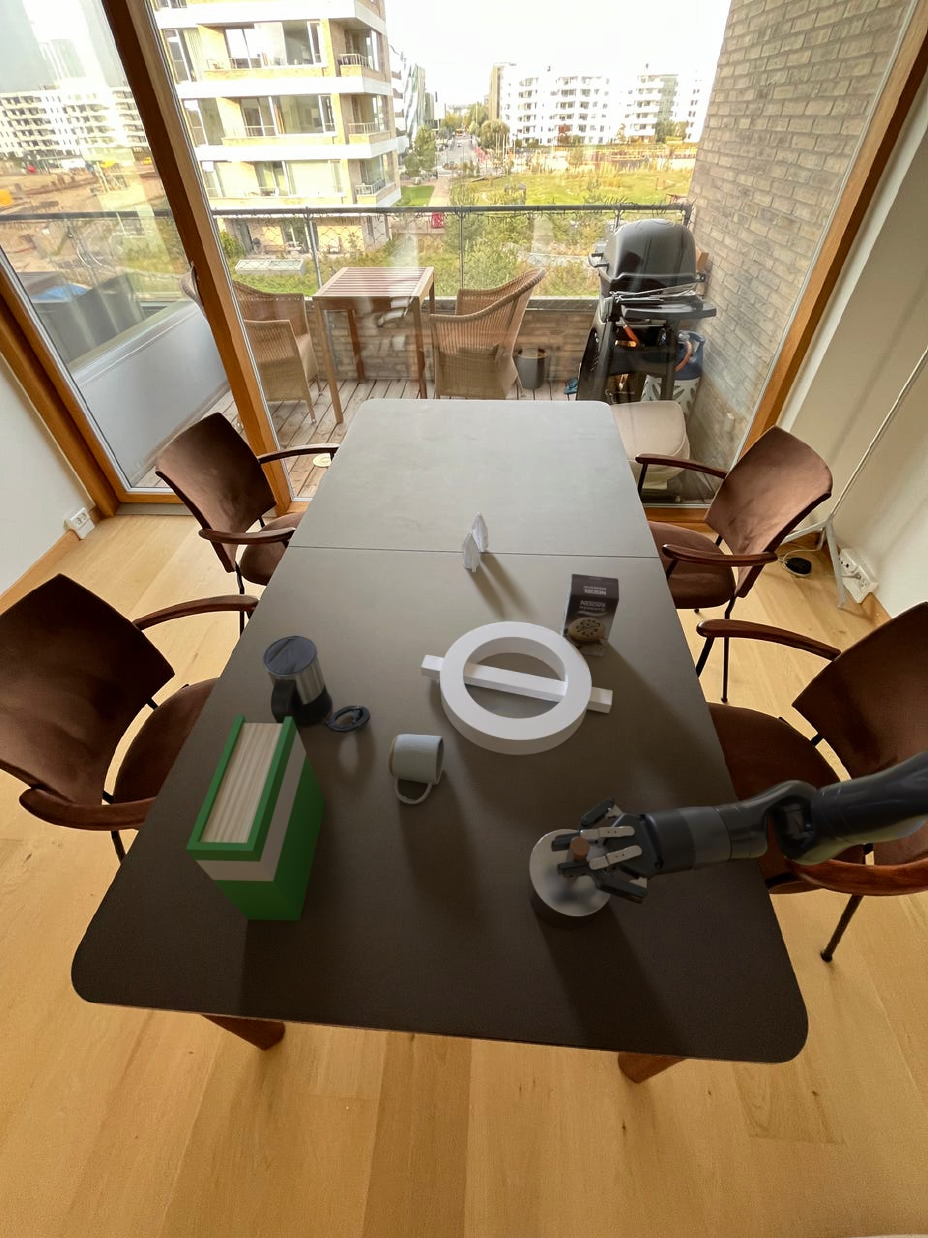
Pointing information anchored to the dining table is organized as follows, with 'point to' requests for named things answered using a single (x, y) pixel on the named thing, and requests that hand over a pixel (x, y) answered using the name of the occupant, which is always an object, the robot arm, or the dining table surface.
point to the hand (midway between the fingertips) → (555, 857)
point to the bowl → (556, 914)
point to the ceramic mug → (416, 761)
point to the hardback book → (261, 821)
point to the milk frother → (303, 687)
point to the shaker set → (475, 543)
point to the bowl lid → (561, 892)
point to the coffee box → (590, 612)
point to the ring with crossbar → (516, 687)
